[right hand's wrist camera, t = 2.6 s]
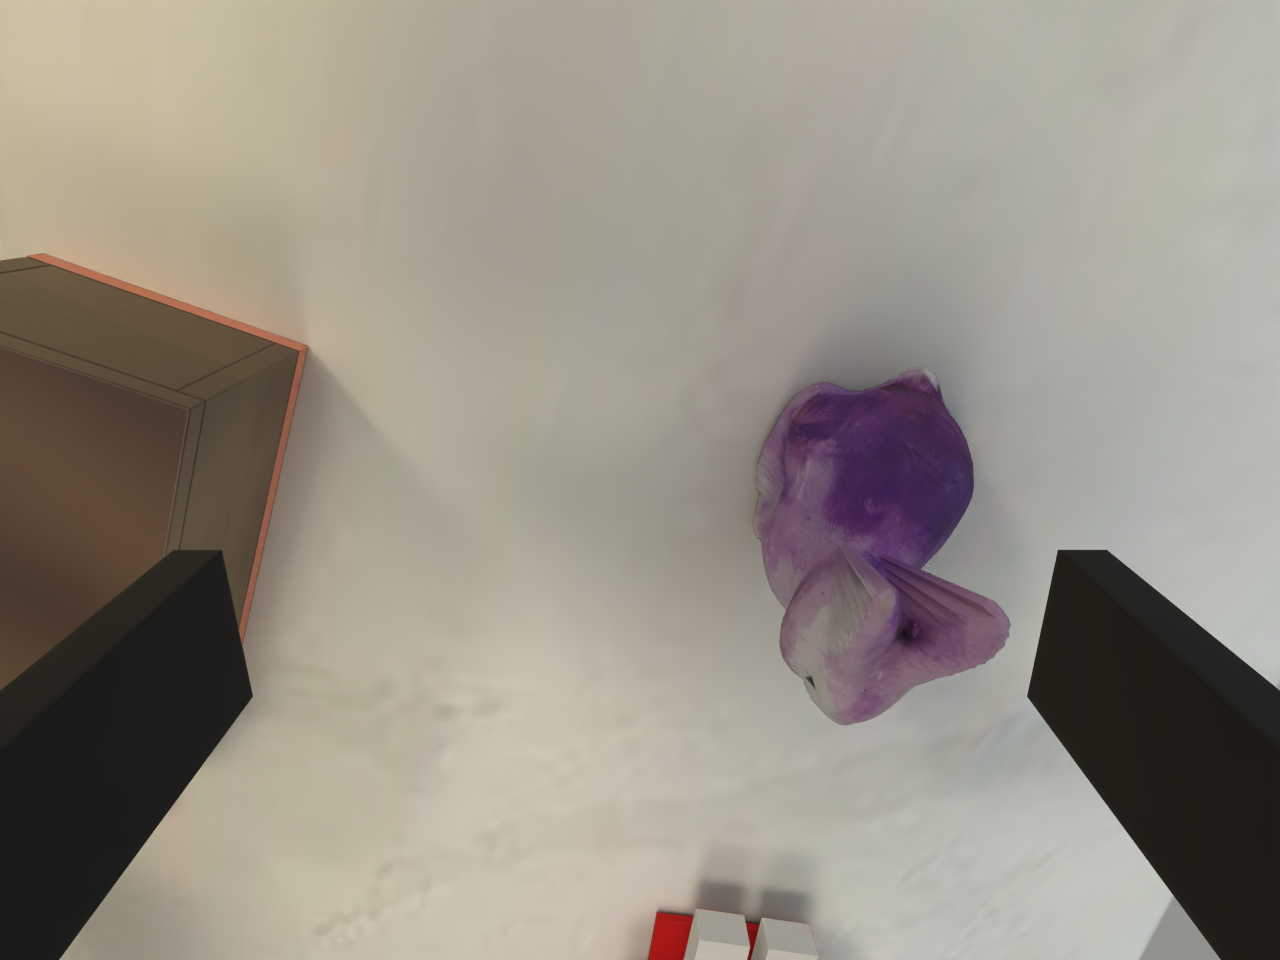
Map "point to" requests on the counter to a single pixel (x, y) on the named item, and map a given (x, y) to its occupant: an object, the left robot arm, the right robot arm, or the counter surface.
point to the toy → (729, 938)
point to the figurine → (869, 543)
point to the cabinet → (126, 445)
